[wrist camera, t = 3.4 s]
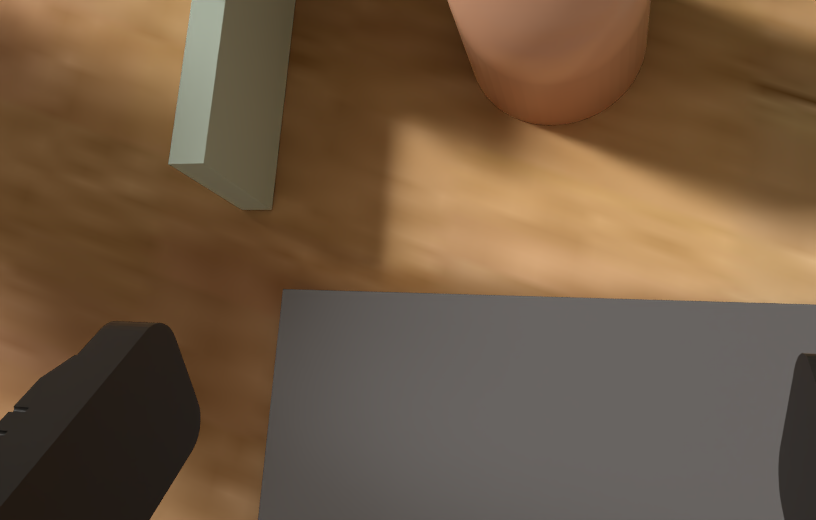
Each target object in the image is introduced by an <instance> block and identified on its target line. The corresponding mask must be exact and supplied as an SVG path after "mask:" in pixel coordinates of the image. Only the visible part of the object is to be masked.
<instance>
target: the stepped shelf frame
mask: <svg viewBox="0 0 816 520" xmlns="http://www.w3.org/2000/svg"><path fill="white" fill-rule="evenodd" d="M295 1H296V0H192V3H191V10H190V17H189V24H188V31H187V38H186V45H185V52H184V59H183V65H182V72H181V79H180V86H179V93H178V100H177V107H176V114H175V121H174V128H173V135H172V142H171V149H170V156H169V162H168V164H169V165H171V166H172V167H174V168H176V169H177V170H179V171H180V172H182V173H184V174H185V175H187V176H188V177H190V178H192V179H193V180H195V181H196V182H198V183H200V184H201V185H203V186H204V187H206V188H208V189H209V190H211V191H212V192H214V193H216V194H217V195H219V196H220V197H222V198H224V199H225V200H227V201H228V202H230V203H232V204H233V205H235V206H236V207H238V208H240V209H241V210H272V204H273V195H274V186H275V177H276V168H277V159H278V151H279V142H280V133H281V124H282V115H283V106H284V98H285V89H286V80H287V71H288V62H289V54H290V45H291V36H292V27H293V18H294V9H295Z"/></svg>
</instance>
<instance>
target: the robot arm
mask: <svg viewBox="0 0 816 520" xmlns="http://www.w3.org/2000/svg"><path fill="white" fill-rule="evenodd" d="M199 429H200V408H199V404H198V401H197V398H196V395H195V392H194V389H193V387H192V384H191V381H190V378H189V375H188V372H187V370H186V367H185V364H184V361H183V358H182V355H181V353H180V350H179V347H178V344H177V341H176V338H175V336H174V334H173V332H172V330H171V329H170V328H169V327H168V326H167V325H165V324H163V323H148V322H125V321H112V322H109V323H108V324H106V325H104V326H103V327H102V328H101V329H100V330H99V331H98V333H97V334H96V335H95V336H94V337H93V338H92V339H91V340H90V341H89V342H88V344H87V345H86V346H85V347H84V348H83V349H82V350H81V351H80V352H79V353H78V355H74V356H73V357H71V358H70V359H68V360H67V361H65V362H64V363H62V364H61V365H59V366H58V367H56V368H55V369H53V370H52V371H50V372H49V373H47V374H46V375H44V376H43V377H41V378H40V379H39V380H38V381H37V382H36V383H35V384H34V385H33V386H32V387H31V389H30V390H29V391H28V392H27V393H26V394H25V395H24V396H23V397H22V398H21V399H20V400H19V401H18V402H17V403H16V405H15V406H14V411H13V412H8V413H7V414H6V415H5V416H4V417H3V418H2V420H1V421H0V520H150V518H151V516H152V515H153V513H154V512H155V510H156V508H157V507H158V505H159V503H160V502H161V500H162V499H163V497H164V495H165V494H166V492H167V491H168V489H169V487H170V486H171V484H172V482H173V481H174V479H175V478H176V476H177V474H178V473H179V471H180V470H181V468H182V466H183V465H184V463H185V461H186V460H187V458H188V457H189V455H190V453H191V452H192V450H193V448H194V446H195V444H196V441H197V438H198V434H199ZM778 476H779V492H780V500H781V506H782V511H783V515H784V520H816V354H809V353H801V354H800V355H799V356H798V358H797V360H796V364H795V368H794V373H793V379H792V384H791V390H790V395H789V401H788V406H787V412H786V417H785V423H784V428H783V434H782V439H781V445H780V451H779V465H778Z"/></svg>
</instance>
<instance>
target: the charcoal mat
mask: <svg viewBox="0 0 816 520" xmlns="http://www.w3.org/2000/svg"><path fill="white" fill-rule="evenodd" d="M801 353H809V354H816V305H810V304H776V303H741V302H707V301H673V300H638V299H604V298H570V297H535V296H501V295H467V294H432V293H398V292H364V291H330V290H295V289H283V294H282V303H281V312H280V322H279V331H278V340H277V349H276V359H275V368H274V377H273V386H272V396H271V405H270V414H269V424H268V433H267V442H266V451H265V461H264V470H263V479H262V489H261V498H260V507H259V516H258V520H784V515H783V511H782V506H781V500H780V492H779V476H778V465H779V451H780V445H781V439H782V434H783V428H784V423H785V417H786V412H787V406H788V401H789V395H790V390H791V384H792V379H793V373H794V368H795V364H796V360H797V358H798V356H799V355H800V354H801Z"/></svg>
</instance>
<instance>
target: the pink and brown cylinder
mask: <svg viewBox="0 0 816 520" xmlns="http://www.w3.org/2000/svg"><path fill="white" fill-rule="evenodd" d="M447 1H448V3H449V6H450V9H451V12H452V14H453V17H454V20H455V23H456V25H457V28H458V31H459V34H460V36H461V39H462V42H463V45H464V47H465V50H466V53H467V56H468V58H469V61H470V64H471V67H472V69H473V72H474V75H475V78H476V80H477V82H478V84H479V86H480V88H481V90H482V91H483V92H484V94H485V95H486V97H487V98H488V99H489V100H490V101H491V102H492V103H493V104H494V105H495V106H496V107H498V108H499V109H500V110H502V111H503V112H505V113H506V114H508V115H510V116H512V117H514V118H516V119H519V120H522V121H525V122H528V123H533V124H539V125H563V124H569V123H574V122H578V121H581V120H584V119H587V118H590V117H592V116H594V115H596V114H598V113H600V112H602V111H603V110H605V109H606V108H608V107H609V106H611V105H612V104H613V103H614V102H616V101H617V100H618V99H619V98H620V97H621V96H622V95H623V94H624V93H625V92H626V91H627V90H628V88H629V87H630V86H631V84H632V83H633V82H634V80H635V78H636V76H637V75H638V73H639V71H640V68H641V66H642V63H643V60H644V56H645V52H646V44H647V34H648V24H649V14H650V5H651V0H447Z"/></svg>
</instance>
